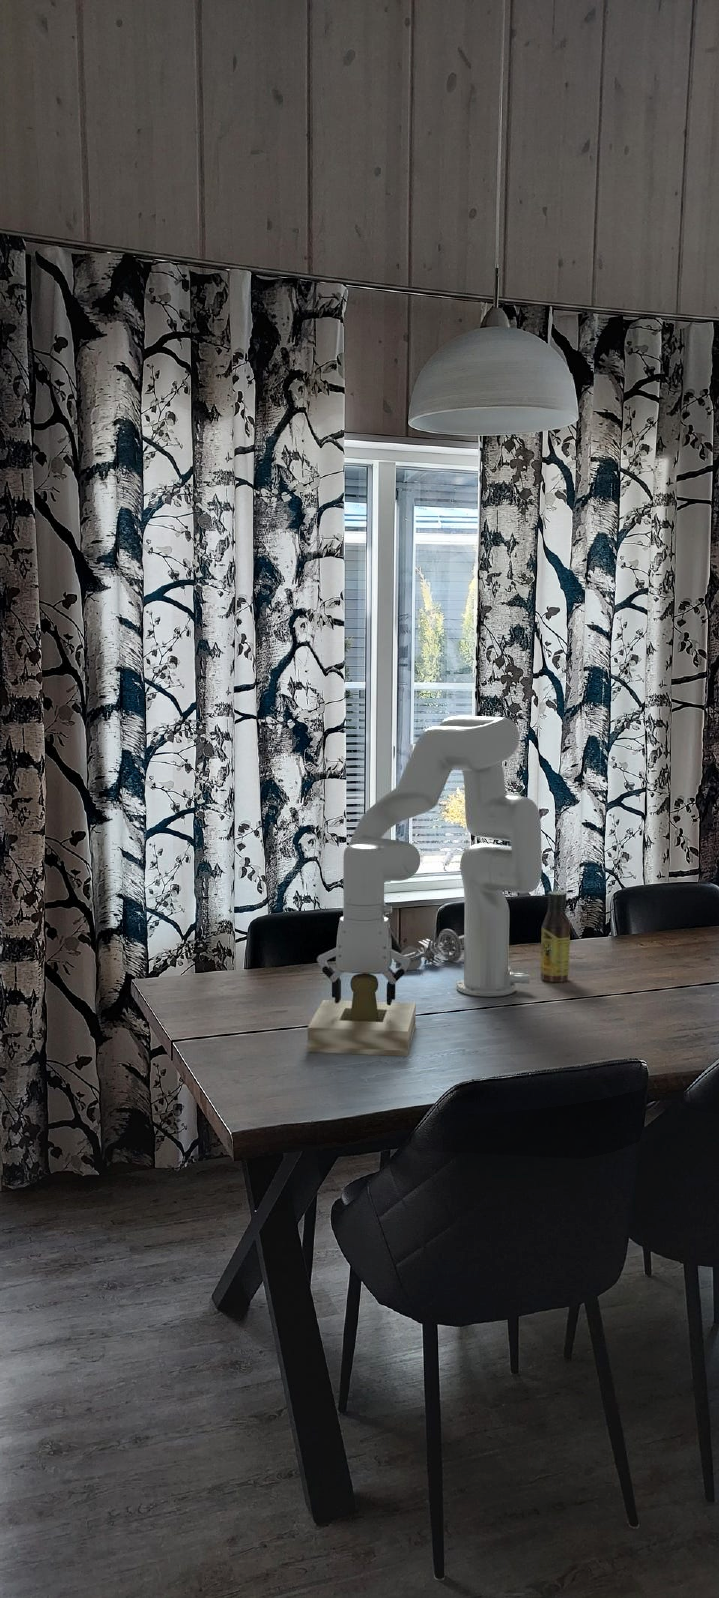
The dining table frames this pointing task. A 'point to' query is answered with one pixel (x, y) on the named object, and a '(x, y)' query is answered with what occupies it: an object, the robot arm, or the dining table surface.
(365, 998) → the cork
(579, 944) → the dining table surface
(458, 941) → the spaceship
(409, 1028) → the socket block
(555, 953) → the sauce bottle
